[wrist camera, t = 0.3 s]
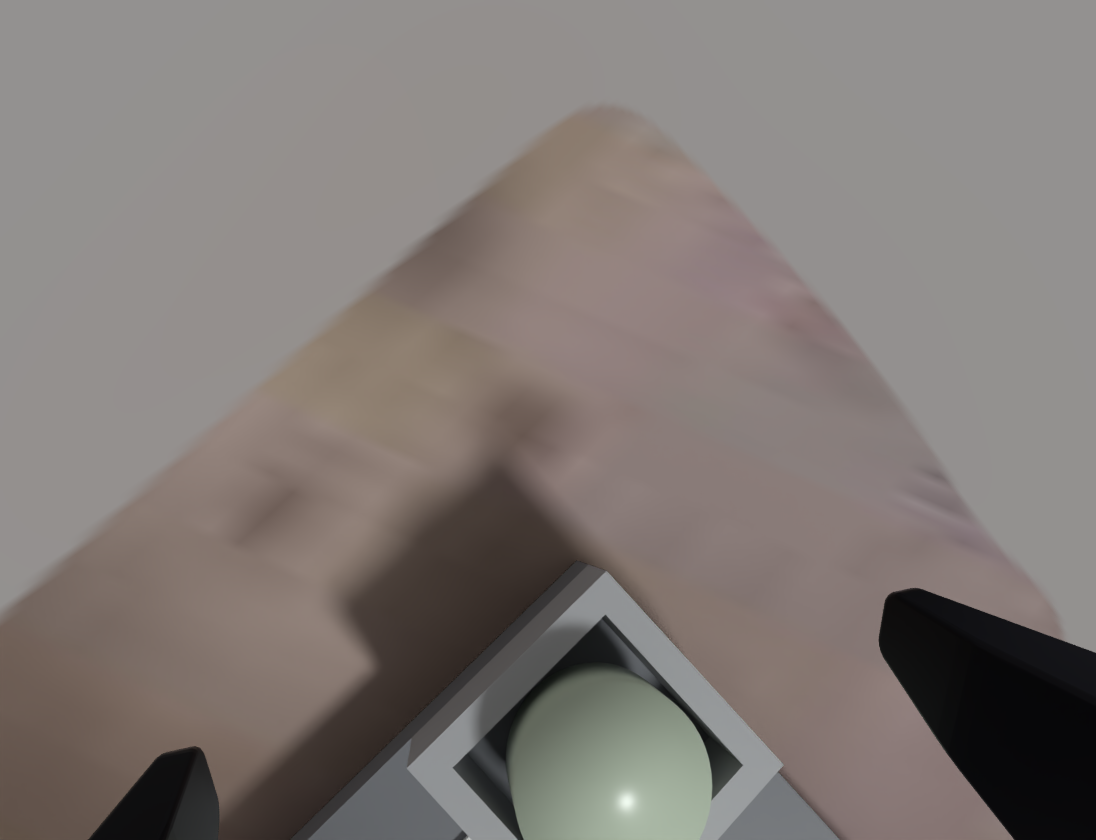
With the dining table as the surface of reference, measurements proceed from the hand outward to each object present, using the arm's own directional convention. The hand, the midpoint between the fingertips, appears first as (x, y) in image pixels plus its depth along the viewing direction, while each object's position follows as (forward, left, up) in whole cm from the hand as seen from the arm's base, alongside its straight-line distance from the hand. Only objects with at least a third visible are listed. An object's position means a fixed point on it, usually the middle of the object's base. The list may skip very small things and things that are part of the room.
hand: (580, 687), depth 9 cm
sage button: (-5, +1, -11) cm, 12 cm away
